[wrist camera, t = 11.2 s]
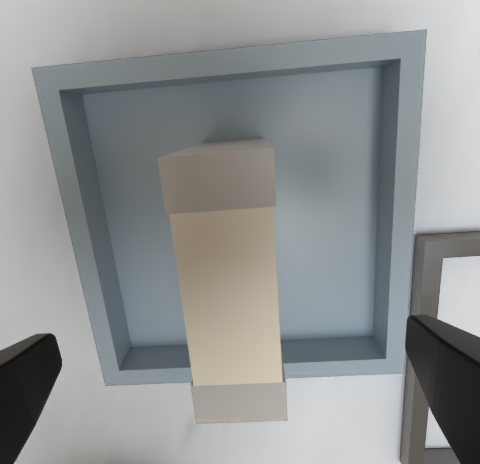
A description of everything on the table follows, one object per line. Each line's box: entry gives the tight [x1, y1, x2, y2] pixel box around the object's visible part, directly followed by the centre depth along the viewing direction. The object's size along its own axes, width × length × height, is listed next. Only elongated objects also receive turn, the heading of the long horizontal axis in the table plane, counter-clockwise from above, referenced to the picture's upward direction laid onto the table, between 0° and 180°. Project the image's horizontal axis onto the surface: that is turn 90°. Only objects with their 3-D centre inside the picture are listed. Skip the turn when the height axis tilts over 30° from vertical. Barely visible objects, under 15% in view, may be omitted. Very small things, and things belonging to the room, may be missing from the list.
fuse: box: [157, 138, 288, 424], centre depth 15 cm, size 3×9×9 cm, turn 4°
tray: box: [31, 29, 427, 386], centre depth 19 cm, size 17×17×3 cm
